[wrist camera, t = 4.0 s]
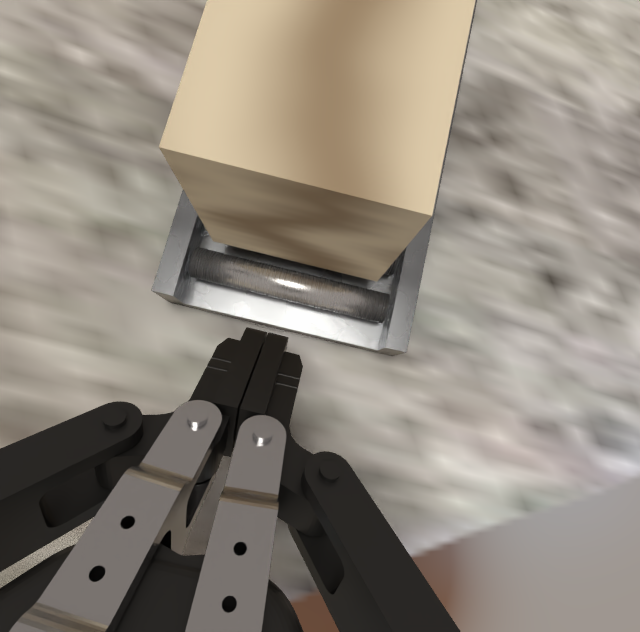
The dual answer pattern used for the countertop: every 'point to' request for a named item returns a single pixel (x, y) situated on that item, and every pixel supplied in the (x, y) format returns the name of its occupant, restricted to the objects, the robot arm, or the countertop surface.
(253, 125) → the birch slab
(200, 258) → the roller track
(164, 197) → the countertop surface
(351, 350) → the countertop surface
